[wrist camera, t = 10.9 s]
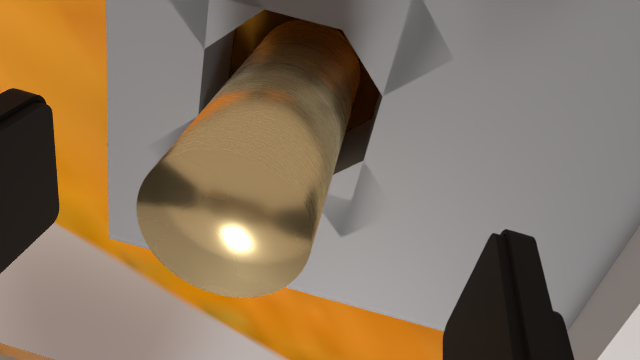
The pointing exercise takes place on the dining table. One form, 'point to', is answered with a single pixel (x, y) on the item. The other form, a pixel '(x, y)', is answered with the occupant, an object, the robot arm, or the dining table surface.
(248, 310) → the dining table surface
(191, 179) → the brass pin
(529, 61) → the plate
